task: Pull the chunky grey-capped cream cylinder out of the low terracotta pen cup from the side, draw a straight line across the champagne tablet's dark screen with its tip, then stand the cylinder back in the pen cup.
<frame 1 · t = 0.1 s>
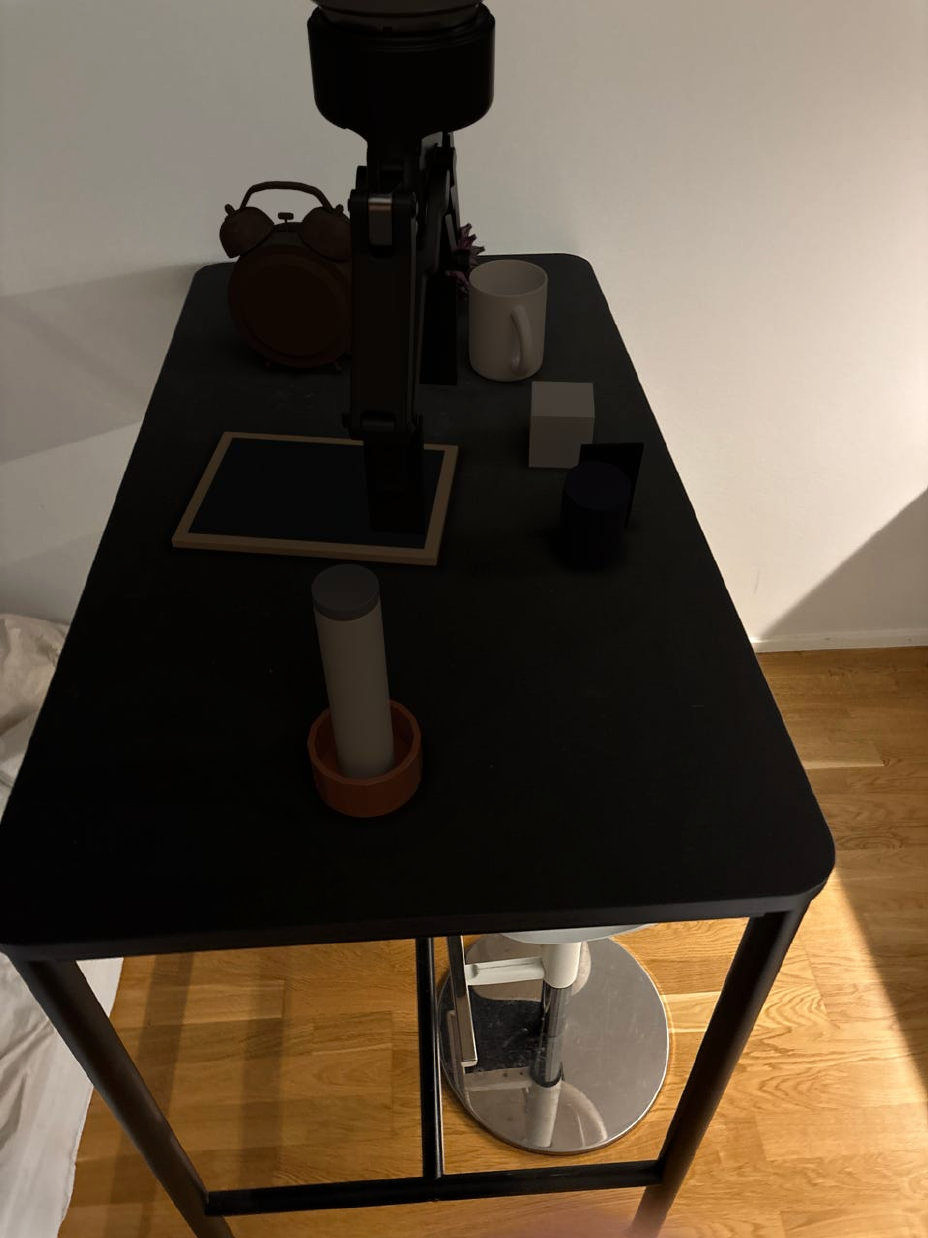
hand: (418, 448, 54), 27 cm above the table, tool pointing down, fingers open, 13 cm apart
speaker: (595, 552, 88), on the table
alarm clock: (307, 363, 111), on the table
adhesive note: (558, 451, 99), on the table
flower: (437, 308, 120), on the table
tablet: (323, 497, 94), on the table
grey-capped cream cylinder: (367, 767, 71), point 1 cm above the table, touching pen cup
pen cup: (368, 772, 71), on the table
mug: (510, 374, 109), on the table
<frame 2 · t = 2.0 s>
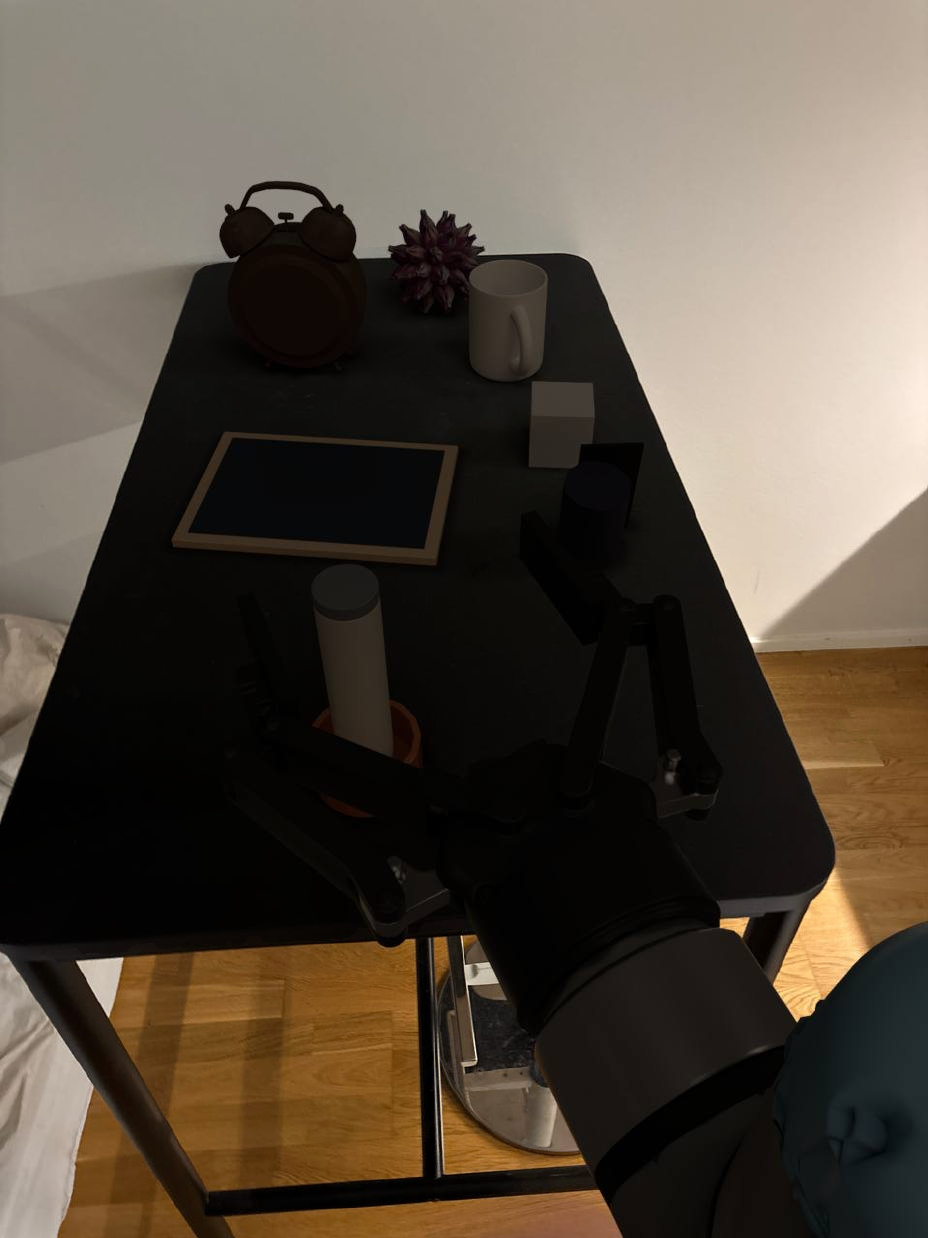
hand: (393, 573, 45), 28 cm above the table, tool horizontal, fingers open, 13 cm apart
nothing on the table moved.
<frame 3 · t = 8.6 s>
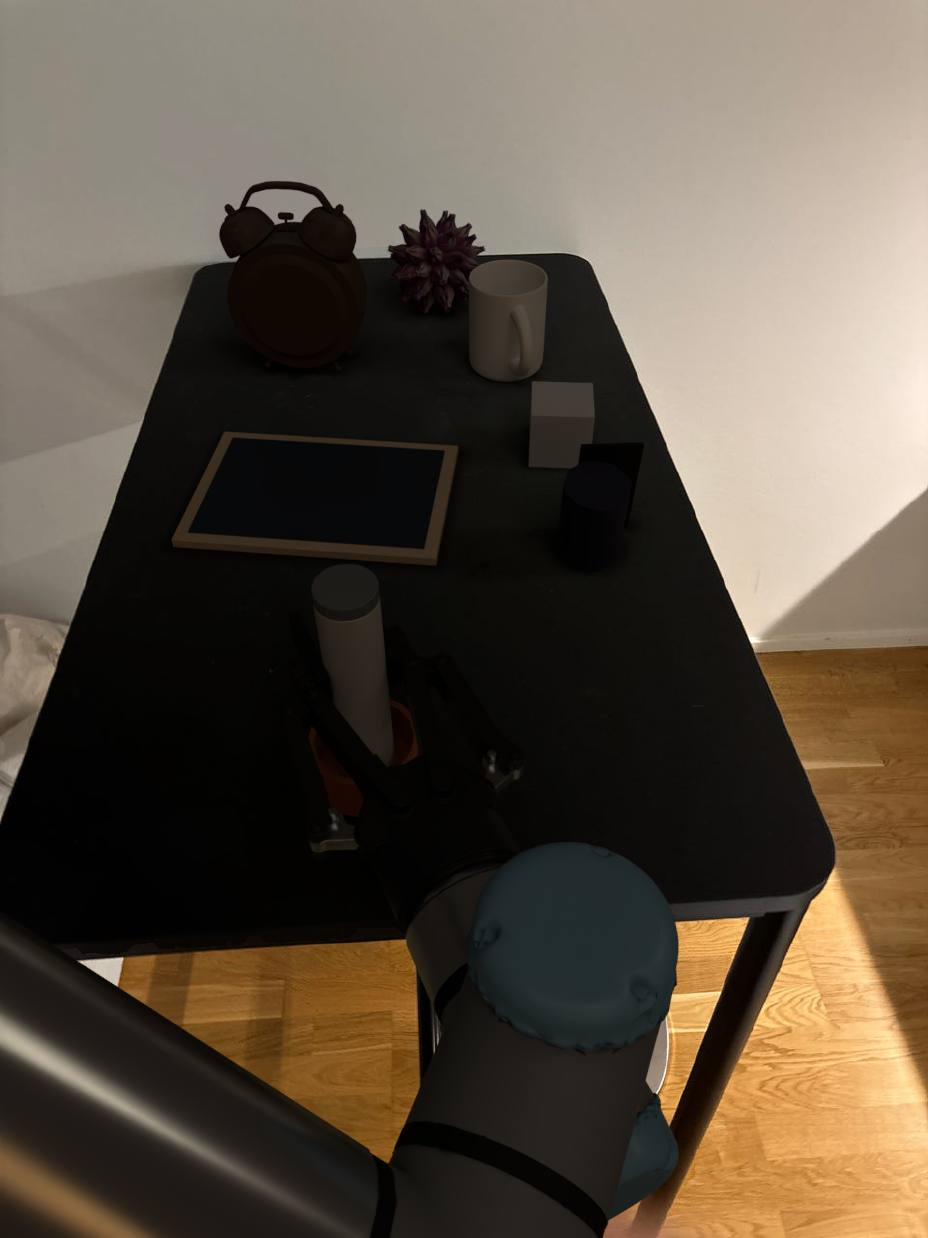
hand: (329, 616, 67), 11 cm above the table, tool horizontal, fingers closed on grey-capped cream cylinder, 4 cm apart
grey-capped cream cylinder: (367, 767, 71), point 1 cm above the table, touching gripper, pen cup
everything else where it was.
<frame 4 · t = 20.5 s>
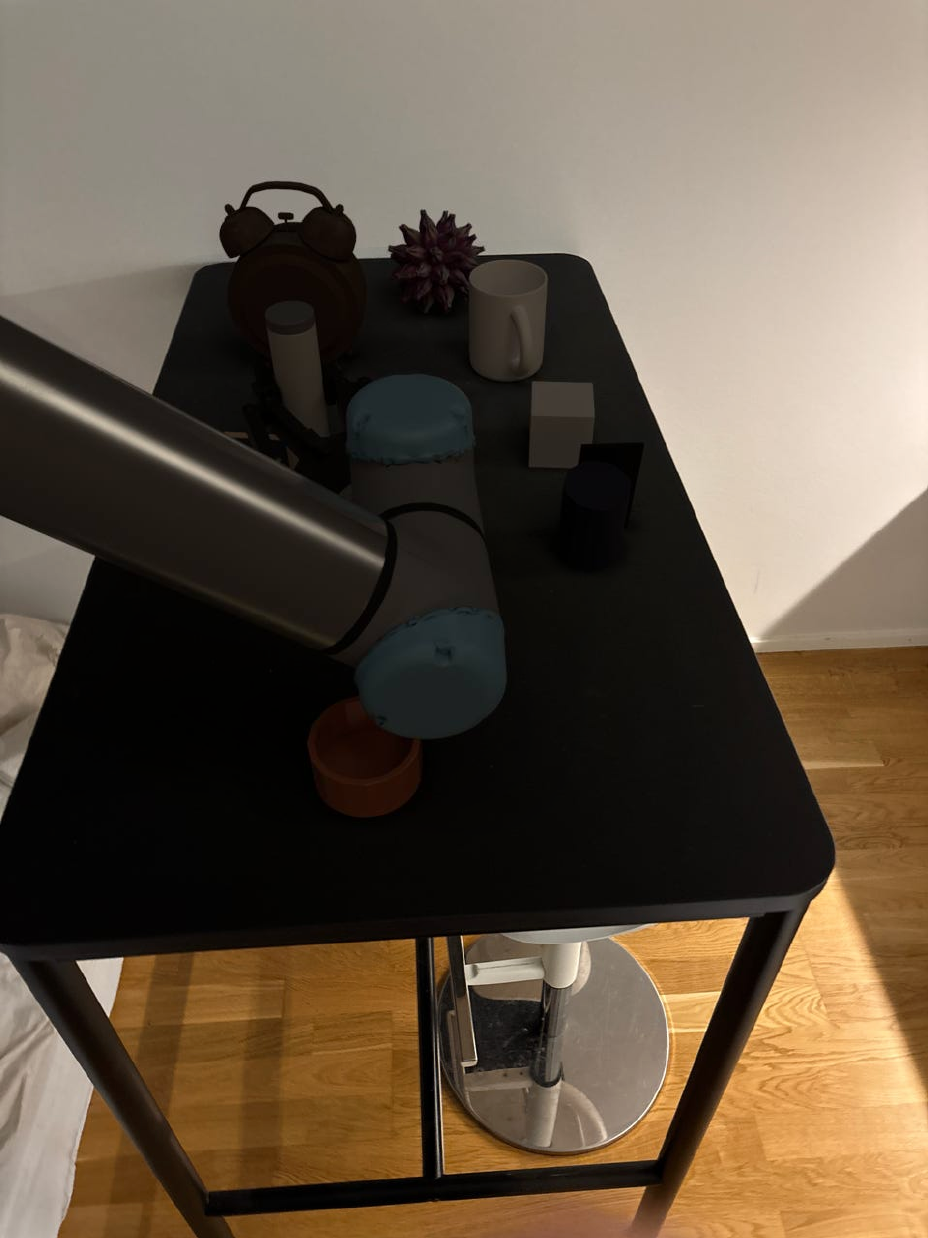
hand: (283, 361, 89), 12 cm above the table, tool horizontal, fingers closed on grey-capped cream cylinder, 4 cm apart
grey-capped cream cylinder: (314, 487, 93), point 1 cm above the table, touching gripper
everything else where it was.
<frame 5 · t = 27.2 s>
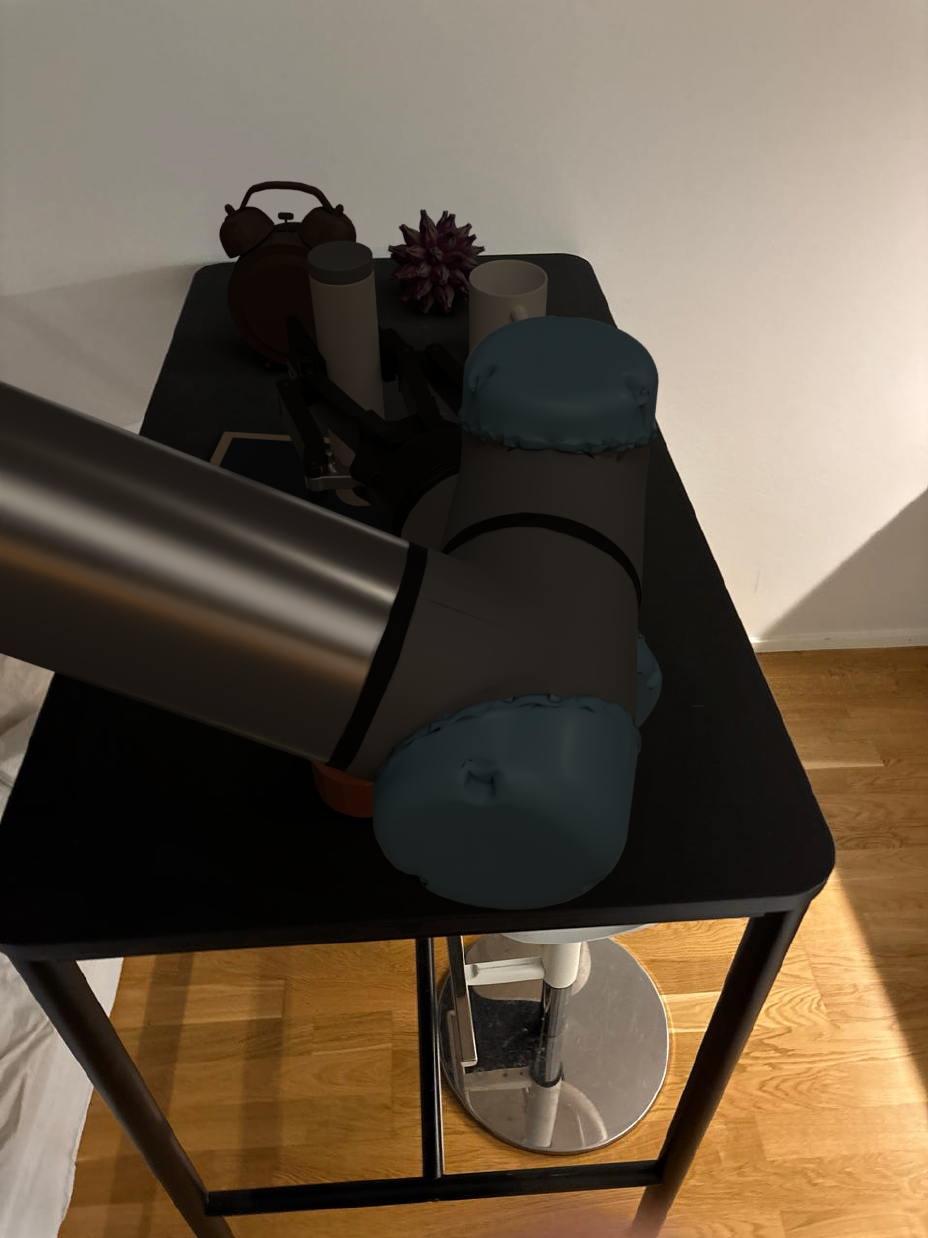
hand: (324, 326, 69), 24 cm above the table, tool horizontal, fingers closed on grey-capped cream cylinder, 4 cm apart
grey-capped cream cylinder: (363, 489, 73), point 13 cm above the table, touching gripper
everything else where it was.
when the fingers open (11 cm above the table, at t = 32.9 s): grey-capped cream cylinder stays where it is, resting on pen cup.
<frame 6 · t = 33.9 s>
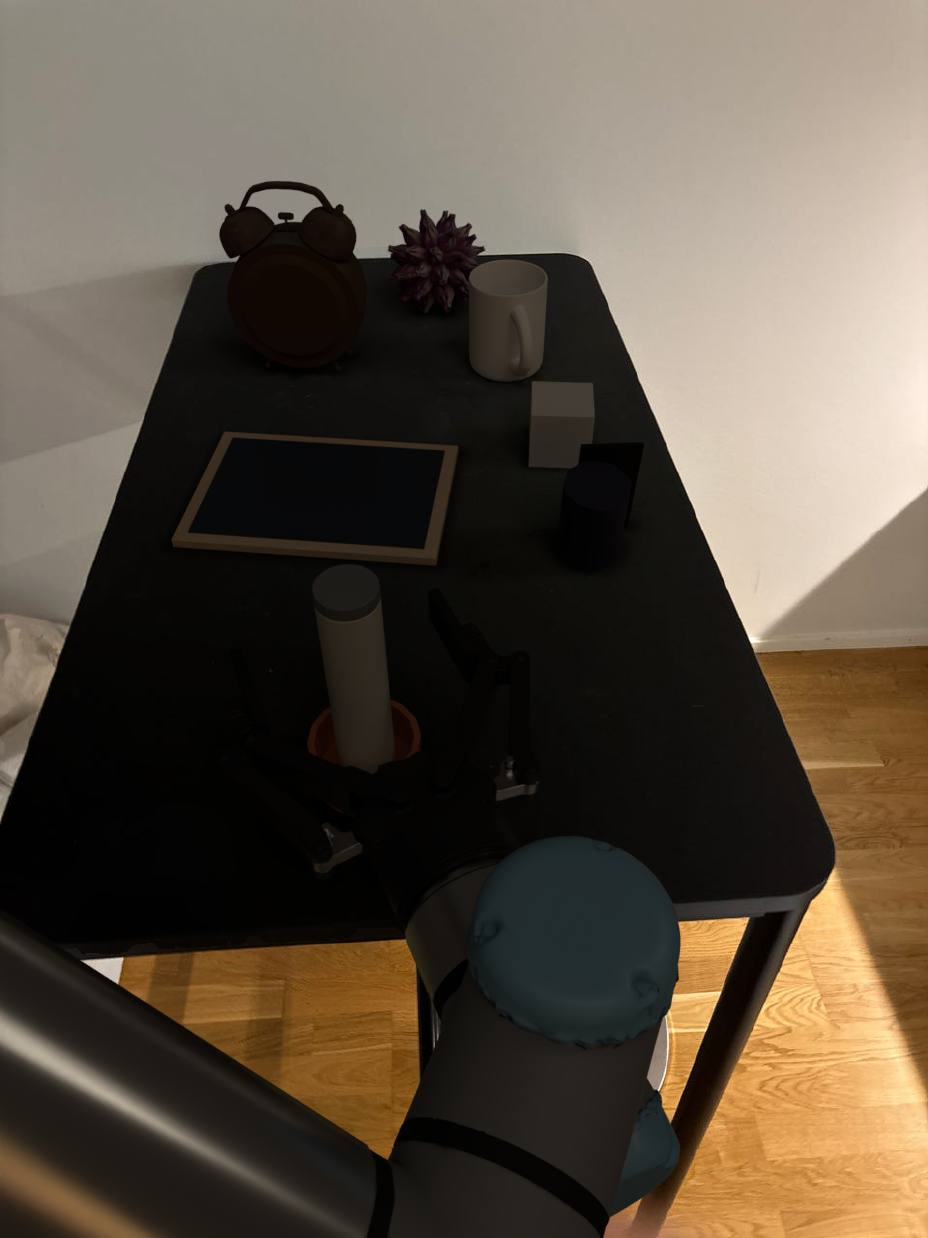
hand: (338, 631, 65), 12 cm above the table, tool horizontal, fingers open, 13 cm apart
grey-capped cream cylinder: (368, 767, 71), point 1 cm above the table, touching pen cup
everything else where it was.
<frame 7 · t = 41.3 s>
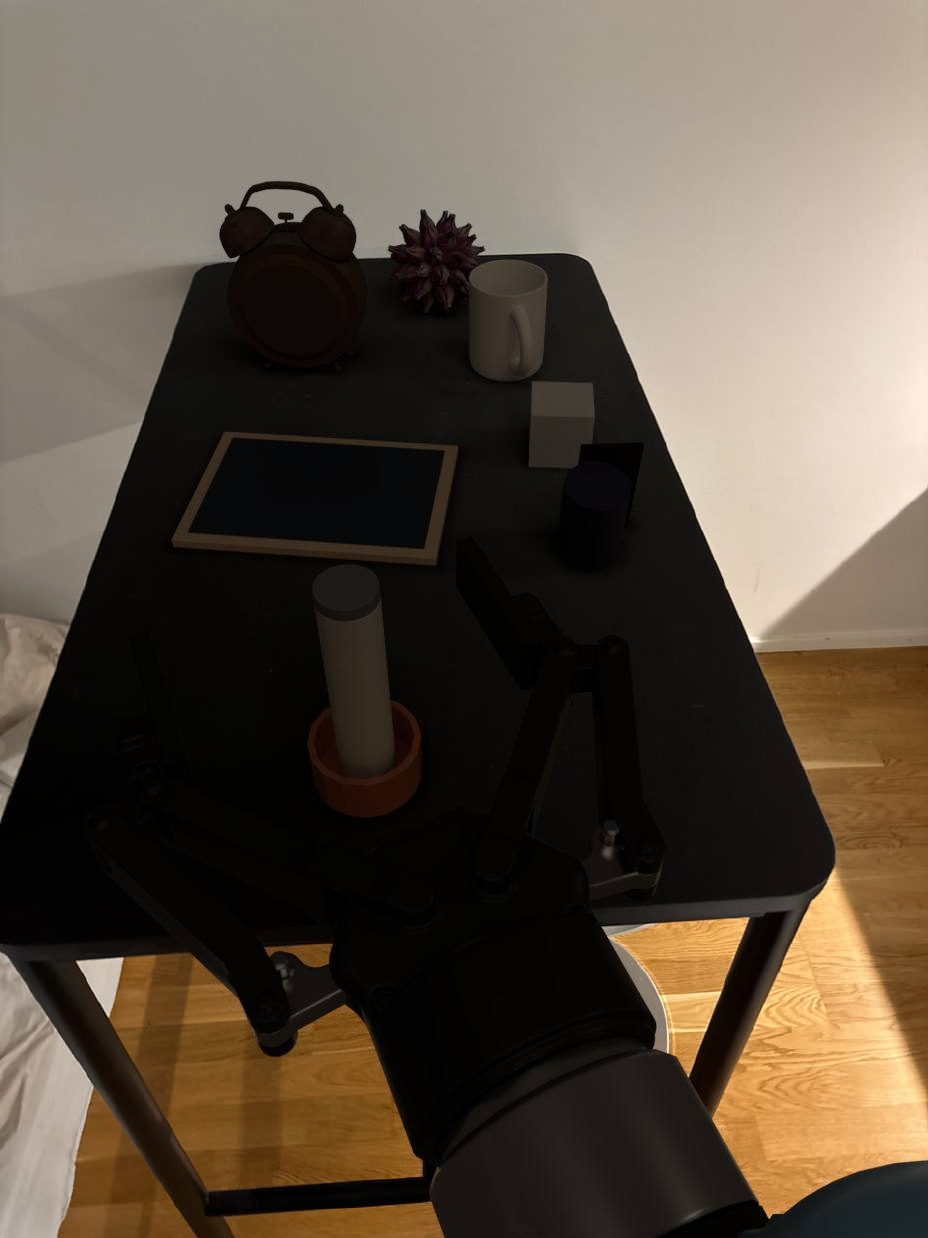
hand: (312, 607, 40), 30 cm above the table, tool horizontal, fingers open, 13 cm apart
nothing on the table moved.
at the end: grey-capped cream cylinder 0.1 cm off-centre in the pen cup, point 0.6 cm above the pen cup's base; grey-capped cream cylinder tilted 0°; grey-capped cream cylinder touching pen cup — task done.
